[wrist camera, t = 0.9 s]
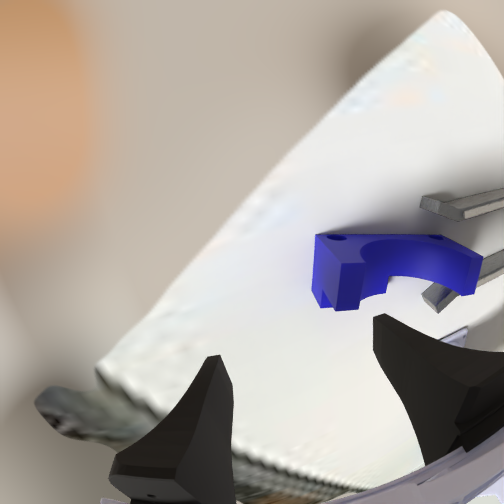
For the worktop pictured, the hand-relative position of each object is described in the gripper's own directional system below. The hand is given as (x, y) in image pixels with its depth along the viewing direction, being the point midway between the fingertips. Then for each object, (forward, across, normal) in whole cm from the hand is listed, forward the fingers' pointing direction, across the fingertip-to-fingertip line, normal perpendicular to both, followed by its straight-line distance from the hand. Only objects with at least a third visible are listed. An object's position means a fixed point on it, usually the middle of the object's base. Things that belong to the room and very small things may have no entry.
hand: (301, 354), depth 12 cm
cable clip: (+10, -9, +1) cm, 13 cm away
